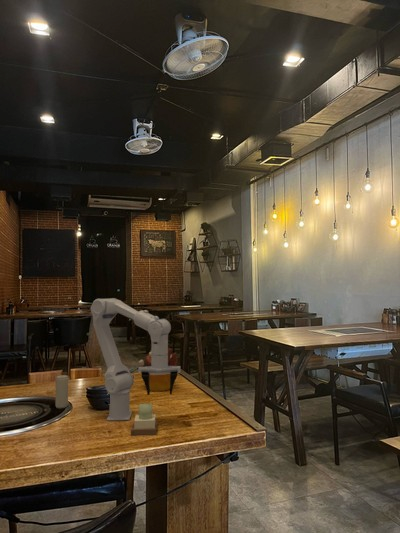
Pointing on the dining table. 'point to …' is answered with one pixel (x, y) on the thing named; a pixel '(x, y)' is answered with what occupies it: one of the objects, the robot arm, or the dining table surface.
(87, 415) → the dining table surface
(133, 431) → the base block
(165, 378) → the bucket of meat
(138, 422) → the top block
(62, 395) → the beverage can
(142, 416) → the green cylinder
